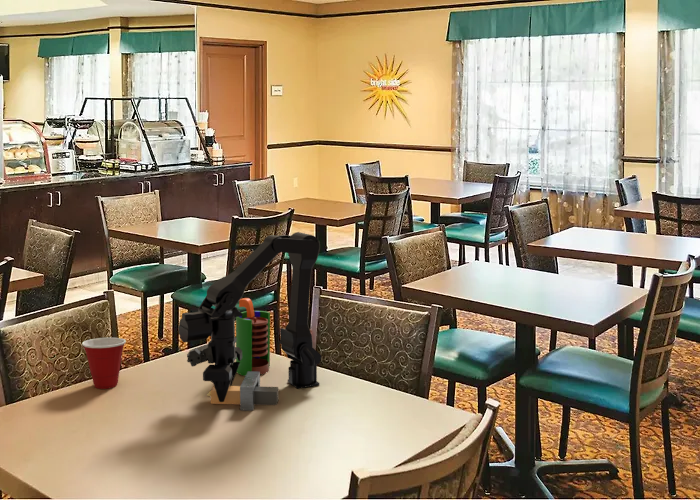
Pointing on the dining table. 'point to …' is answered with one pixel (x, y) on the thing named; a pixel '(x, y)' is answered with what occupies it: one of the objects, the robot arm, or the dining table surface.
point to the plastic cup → (104, 360)
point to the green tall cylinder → (253, 339)
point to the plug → (261, 395)
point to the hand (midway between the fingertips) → (224, 397)
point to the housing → (249, 390)
